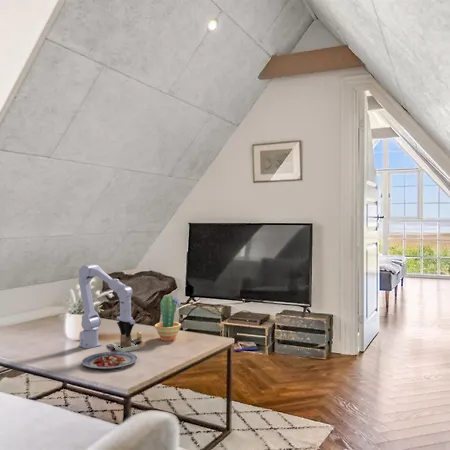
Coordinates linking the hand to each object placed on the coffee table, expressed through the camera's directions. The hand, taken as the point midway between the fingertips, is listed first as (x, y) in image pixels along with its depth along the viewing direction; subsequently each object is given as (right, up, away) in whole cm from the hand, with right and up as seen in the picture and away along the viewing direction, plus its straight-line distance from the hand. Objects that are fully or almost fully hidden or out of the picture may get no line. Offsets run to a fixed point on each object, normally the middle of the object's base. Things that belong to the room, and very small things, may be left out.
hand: (125, 335), depth 250 cm
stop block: (0, -6, 0) cm, 6 cm away
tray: (0, -7, 0) cm, 7 cm away
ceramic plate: (-3, -8, -23) cm, 25 cm away
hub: (+1, -7, +11) cm, 13 cm away
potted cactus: (+20, -7, +23) cm, 31 cm away
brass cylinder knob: (+3, -6, +12) cm, 14 cm away
